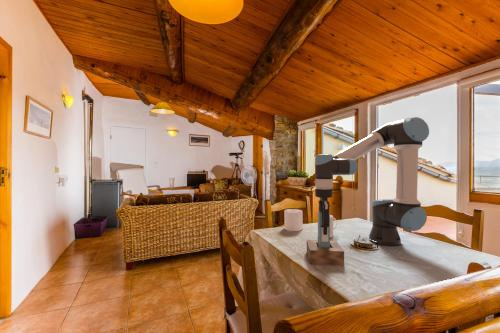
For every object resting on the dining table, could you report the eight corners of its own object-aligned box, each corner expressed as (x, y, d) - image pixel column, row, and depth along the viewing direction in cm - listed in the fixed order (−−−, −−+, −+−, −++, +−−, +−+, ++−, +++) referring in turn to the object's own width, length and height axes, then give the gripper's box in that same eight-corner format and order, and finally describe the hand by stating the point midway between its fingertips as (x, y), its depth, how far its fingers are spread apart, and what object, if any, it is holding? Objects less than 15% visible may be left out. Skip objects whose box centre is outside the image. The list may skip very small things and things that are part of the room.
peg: (327, 245, 110) (327, 211, 110) (329, 249, 105) (329, 213, 105) (317, 245, 110) (317, 211, 110) (319, 249, 106) (319, 213, 106)
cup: (284, 230, 152) (284, 212, 152) (284, 226, 163) (284, 208, 163) (303, 231, 150) (302, 212, 150) (302, 226, 161) (301, 209, 161)
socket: (336, 253, 114) (336, 240, 114) (344, 265, 100) (344, 251, 100) (306, 251, 116) (306, 239, 116) (310, 264, 102) (310, 250, 102)
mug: (333, 232, 147) (333, 213, 147) (341, 236, 139) (341, 216, 139) (315, 234, 144) (315, 214, 144) (323, 238, 136) (323, 217, 136)
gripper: (312, 186, 117) (312, 233, 117) (318, 190, 99) (318, 245, 99) (328, 186, 116) (328, 234, 116) (336, 190, 98) (336, 246, 99)
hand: (323, 239), depth 108 cm, fingers closed on peg, 4 cm apart
